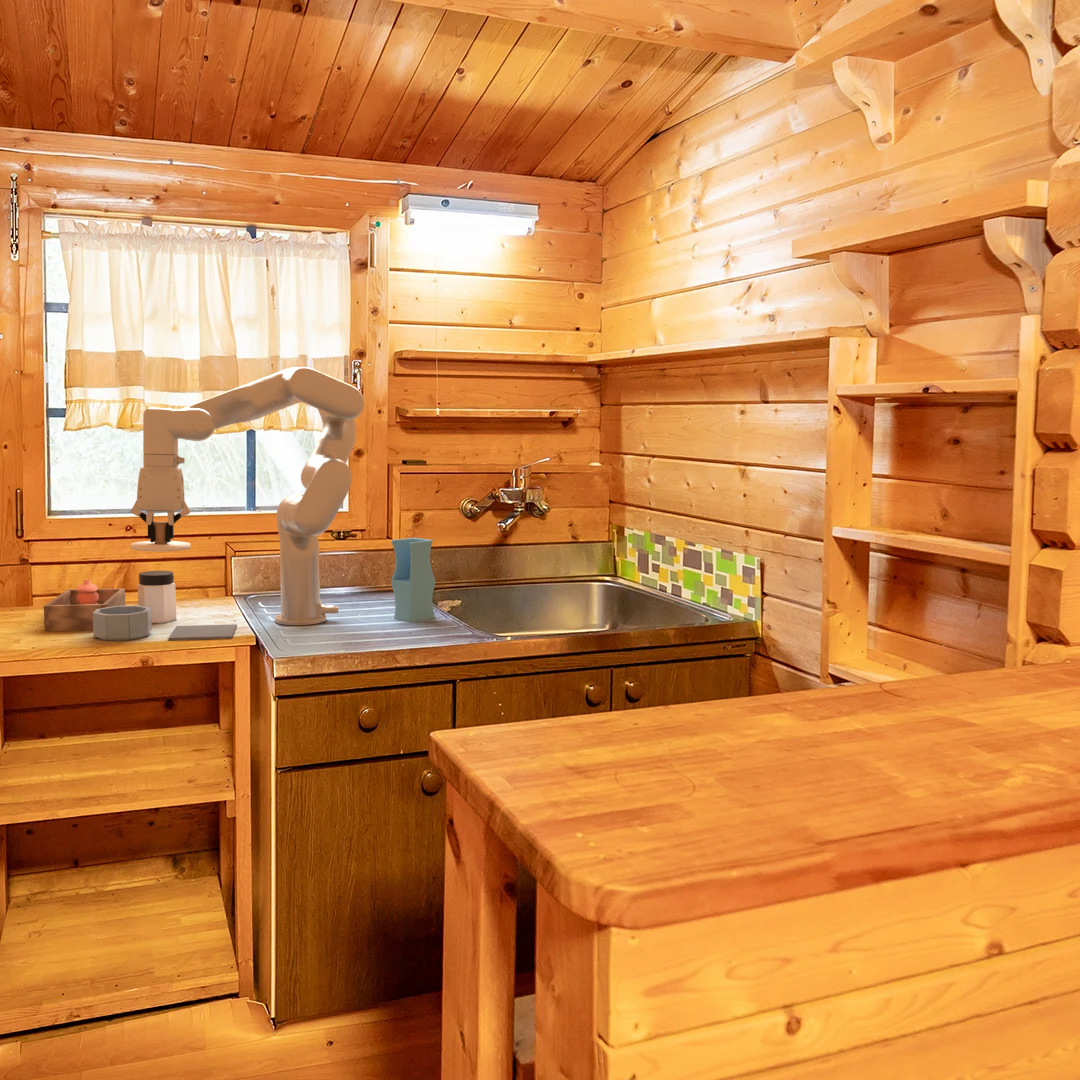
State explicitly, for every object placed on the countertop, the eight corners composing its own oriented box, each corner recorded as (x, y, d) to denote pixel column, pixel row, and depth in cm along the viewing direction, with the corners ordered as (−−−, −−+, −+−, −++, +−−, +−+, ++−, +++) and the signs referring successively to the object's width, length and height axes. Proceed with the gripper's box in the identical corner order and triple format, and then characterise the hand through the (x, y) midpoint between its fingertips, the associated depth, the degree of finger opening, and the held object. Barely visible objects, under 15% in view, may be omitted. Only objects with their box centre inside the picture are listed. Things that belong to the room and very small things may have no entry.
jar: (180, 621, 272) (179, 573, 271) (147, 625, 267) (146, 576, 266) (167, 615, 279) (165, 569, 278) (135, 619, 274) (133, 572, 272)
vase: (391, 618, 279) (390, 540, 276) (415, 614, 284) (414, 537, 282) (411, 622, 273) (411, 542, 271) (435, 618, 279) (435, 540, 277)
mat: (236, 626, 266) (236, 624, 266) (231, 638, 252) (231, 636, 252) (176, 628, 263) (176, 625, 263) (168, 640, 250) (168, 637, 250)
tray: (125, 611, 285) (124, 588, 284) (107, 629, 261) (106, 604, 261) (68, 612, 282) (67, 589, 281) (44, 631, 259) (43, 606, 258)
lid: (193, 545, 261) (193, 520, 260) (187, 551, 248) (187, 525, 248) (135, 544, 258) (135, 519, 258) (126, 551, 246) (126, 524, 245)
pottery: (96, 629, 262) (94, 589, 261) (54, 631, 260) (52, 590, 259) (111, 615, 279) (110, 577, 278) (72, 616, 278) (70, 578, 277)
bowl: (154, 629, 261) (153, 605, 261) (145, 640, 250) (145, 614, 249) (101, 631, 259) (100, 606, 258) (90, 641, 247) (89, 615, 247)
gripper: (199, 462, 257) (198, 540, 259) (125, 460, 253) (126, 539, 255) (196, 463, 249) (195, 544, 251) (120, 461, 246) (120, 543, 248)
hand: (160, 541), depth 253 cm, fingers closed on lid, 2 cm apart
